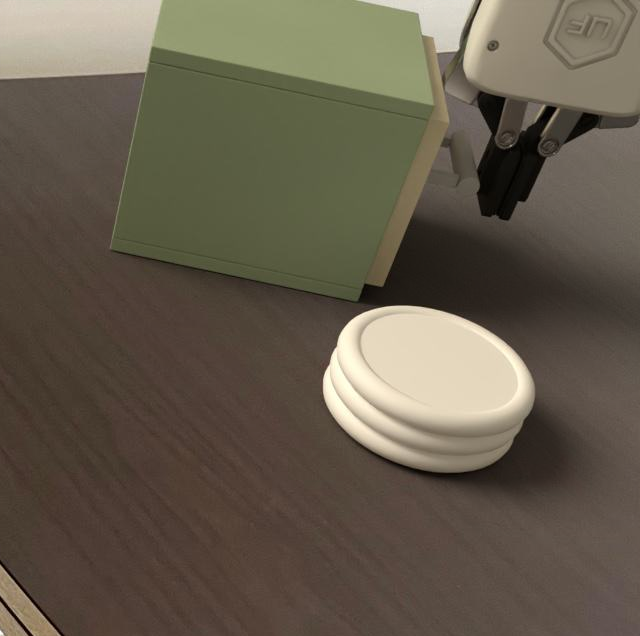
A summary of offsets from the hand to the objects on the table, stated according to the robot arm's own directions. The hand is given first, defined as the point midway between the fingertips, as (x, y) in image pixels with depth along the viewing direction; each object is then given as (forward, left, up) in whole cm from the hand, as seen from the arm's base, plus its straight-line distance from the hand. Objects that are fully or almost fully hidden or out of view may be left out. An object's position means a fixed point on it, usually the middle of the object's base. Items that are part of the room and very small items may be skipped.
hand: (492, 206), depth 68 cm
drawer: (+11, 0, -3) cm, 11 cm away
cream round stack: (+4, +16, -4) cm, 17 cm away
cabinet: (+14, 0, -4) cm, 15 cm away
